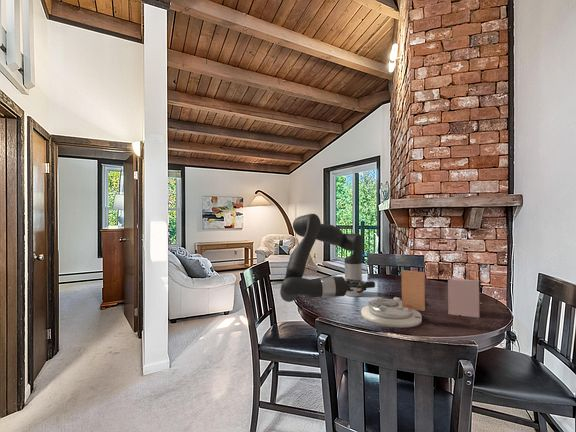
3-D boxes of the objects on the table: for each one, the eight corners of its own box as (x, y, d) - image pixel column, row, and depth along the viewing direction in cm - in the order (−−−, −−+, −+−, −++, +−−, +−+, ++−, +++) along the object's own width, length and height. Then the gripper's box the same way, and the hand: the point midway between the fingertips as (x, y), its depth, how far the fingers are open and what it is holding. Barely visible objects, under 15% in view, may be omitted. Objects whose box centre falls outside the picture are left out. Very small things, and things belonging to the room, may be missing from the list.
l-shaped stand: (361, 313, 124) (360, 269, 124) (378, 302, 138) (377, 264, 138) (418, 324, 110) (417, 276, 110) (430, 312, 124) (429, 269, 124)
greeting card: (480, 317, 124) (479, 281, 124) (471, 320, 120) (470, 283, 120) (453, 310, 134) (452, 276, 134) (443, 313, 130) (443, 278, 130)
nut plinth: (376, 305, 142) (376, 300, 142) (429, 315, 126) (429, 310, 126) (350, 318, 124) (350, 313, 124) (409, 332, 108) (409, 326, 108)
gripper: (336, 281, 108) (381, 278, 110) (326, 273, 121) (367, 271, 123) (337, 301, 108) (382, 298, 111) (327, 292, 121) (367, 289, 124)
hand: (374, 284), depth 117 cm, fingers closed
